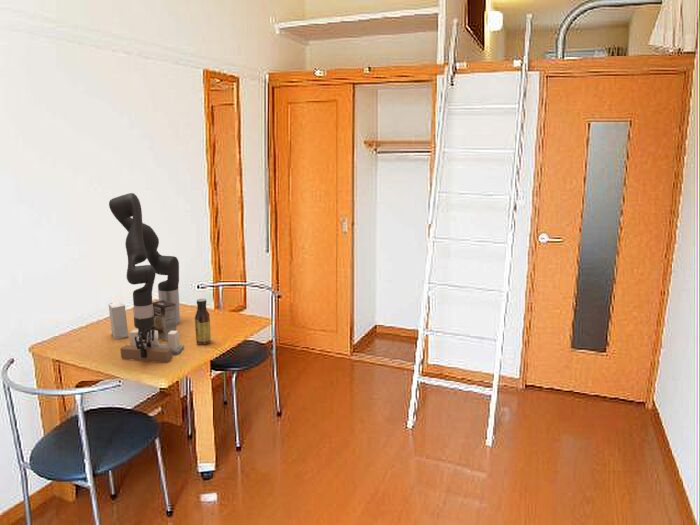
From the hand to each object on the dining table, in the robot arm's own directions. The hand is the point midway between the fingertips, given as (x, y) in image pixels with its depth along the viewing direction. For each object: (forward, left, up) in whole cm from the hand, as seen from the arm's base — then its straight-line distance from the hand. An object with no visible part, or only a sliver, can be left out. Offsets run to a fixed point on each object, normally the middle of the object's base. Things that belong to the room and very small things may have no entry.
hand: (146, 355), depth 217 cm
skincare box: (-25, -23, -2) cm, 34 cm away
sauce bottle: (-20, +17, -2) cm, 26 cm away
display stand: (-9, 0, -2) cm, 9 cm away
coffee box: (-25, -2, -2) cm, 25 cm away
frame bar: (0, 0, -2) cm, 2 cm away
